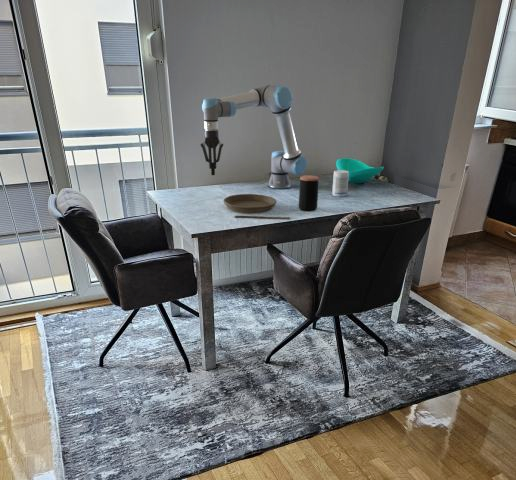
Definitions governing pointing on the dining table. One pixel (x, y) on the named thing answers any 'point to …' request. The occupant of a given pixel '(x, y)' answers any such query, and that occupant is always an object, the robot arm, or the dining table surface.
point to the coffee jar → (308, 193)
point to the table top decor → (357, 170)
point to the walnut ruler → (261, 217)
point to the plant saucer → (249, 203)
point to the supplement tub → (340, 183)
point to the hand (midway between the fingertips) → (213, 174)
